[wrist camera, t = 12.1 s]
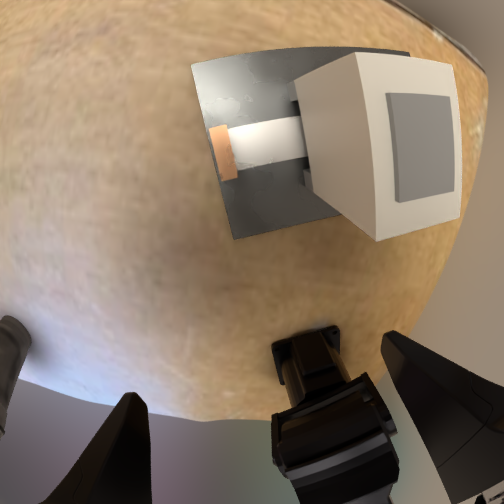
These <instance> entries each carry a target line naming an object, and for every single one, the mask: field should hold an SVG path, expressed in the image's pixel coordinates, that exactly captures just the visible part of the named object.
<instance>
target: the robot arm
mask: <svg viewBox="0 0 504 504" xmlns="http://www.w3.org/2000/svg"><path fill="white" fill-rule="evenodd" d="M333 331H334V332H333ZM277 347H278V348H277ZM271 349H272V353H273V357H274V361H275V365H276V369H277V373H278V377H279V381H280V384H281V385H285V386H286V389H287V393H288V396H289V400H290V404H291V407H292V408H291V409H288V410H286V411H283V412H280V413H275V414H272V423H271V439H272V457H273V464H274V465H275V466H277V467H278V469H279V471H280V472H281V473H282V475H283V476H284V477H285V478H287V479H290V481H291V483H292V485H293V487H294V489H295V492H296V494H297V496H298V499H299V502H300V504H394V503H393V501H392V498H391V496H390V492H391V489H392V486H393V484H394V483H396V482H397V481H398V475H399V466H398V465H399V458H398V456H397V454H396V451H395V449H394V447H393V444H392V442H391V439H390V437H392V436H394V435H396V434H397V433H398V432H397V429H396V426H395V424H394V421H393V419H392V416H391V414H390V412H389V410H388V408H387V406H386V404H385V403H384V401H383V399H382V397H381V396H380V394H379V392H378V391H377V389H376V387H375V386H374V384H373V382H372V381H371V379H370V377H369V376H368V374H367V372H364V373H363V374H361V376H359V377H357V378H355V379H354V380H351V378H350V376H349V374H348V372H347V370H346V368H345V366H344V364H343V362H342V360H341V358H340V330H339V328H338V327H337V326H332V327H329V328H326V329H323V330H319V331H316V332H312V333H309V334H306V335H302V336H299V337H295V338H291V339H288V340H284V341H280V342H276V343H274V344H272V346H271ZM381 354H382V356H383V359H384V361H385V364H386V366H387V368H388V371H389V373H390V376H391V378H392V381H393V383H394V385H395V388H396V390H397V392H398V394H399V395H400V397H401V399H402V401H403V403H404V405H405V407H406V408H407V410H408V412H409V414H410V416H411V418H412V420H413V422H414V424H415V426H416V428H417V430H418V432H419V434H420V436H421V438H422V440H423V442H424V444H425V446H426V448H427V450H428V452H429V454H430V456H431V458H432V461H433V463H434V465H435V467H436V468H437V471H438V474H439V476H440V478H441V480H442V483H443V485H444V487H445V490H446V492H447V494H448V497H449V499H450V501H451V504H457V503H460V502H462V501H465V500H466V499H469V498H471V497H473V496H475V495H477V494H479V493H481V494H480V495H479V496H478V497H477V499H476V501H475V504H504V387H502V386H500V385H497V384H495V383H493V382H490V381H488V380H486V379H484V378H482V377H480V376H478V375H476V374H474V373H472V372H471V371H468V370H467V369H465V368H463V367H461V366H459V365H458V364H456V363H454V362H452V361H450V360H448V359H446V358H444V357H443V356H441V355H439V354H437V353H435V352H434V351H432V350H430V349H428V348H426V347H424V346H423V345H421V344H419V343H417V342H415V341H413V340H411V339H410V338H408V337H406V336H404V335H402V334H400V333H399V332H397V331H394V330H392V331H389V332H387V333H384V335H383V337H382V343H381ZM39 504H152V491H151V443H150V432H149V420H148V408H147V405H146V403H145V402H144V401H143V400H142V399H141V397H140V396H139V395H138V394H137V393H136V392H127V393H125V394H124V395H123V396H122V398H121V399H120V401H119V402H118V403H117V405H116V406H115V408H114V409H113V411H112V412H111V413H110V415H109V416H108V417H107V419H106V420H105V422H104V423H103V424H102V426H101V427H100V429H99V430H98V431H97V433H96V434H95V436H94V437H93V438H92V440H91V441H90V443H89V444H88V446H87V447H86V448H85V450H84V451H83V453H82V454H81V456H80V457H79V459H78V460H77V462H76V463H75V464H74V466H73V467H72V468H71V470H70V471H69V473H68V474H67V475H66V476H65V478H64V479H63V480H62V481H61V483H60V484H59V485H58V486H57V487H56V489H54V491H53V492H52V493H51V494H50V495H49V496H48V497H47V498H46V500H44V501H43V502H41V503H39Z"/></svg>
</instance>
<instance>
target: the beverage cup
mask: <svg viewBox="0 0 504 504" xmlns="http://www.w3.org/2000/svg"><path fill="white" fill-rule="evenodd" d="M30 345H31V337H30V335H29V333H28V331H27V330H26V328H25V327H24V326H23V325H22V324H21V323H20V322H19V321H18V320H16V319H15V318H13V317H11V316H4V317H3V318H2V319H1V320H0V439H1V437H2V436H3V435H4V434H5V431H4V428H5V424H6V417H7V408H8V405H9V402H10V399H11V396H12V393H13V390H14V387H15V384H16V381H17V379H18V376H19V373H20V371H21V368H22V366H23V363H24V361H25V358H26V356H27V352H28V349H29V347H30Z"/></svg>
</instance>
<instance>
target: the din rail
mask: <svg viewBox="0 0 504 504" xmlns="http://www.w3.org/2000/svg"><path fill="white" fill-rule="evenodd" d="M354 52H366V53H380V54H391V55H400V56H407V57H410V54H409V52H403V51H396V50H387V49H376V48H362V47H302V48H287V49H276V50H267V51H259V52H252V53H245V54H239V55H233V56H228V57H223V58H218V59H213V60H209V61H204V62H200V63H196V64H192V65H191V68H192V72H193V77H194V81H195V85H196V89H197V94H198V98H199V102H200V106H201V111H202V115H203V119H204V123H205V127H206V131H207V136H208V140H209V144H210V148H211V152H212V156H213V160H214V164H215V168H216V172H217V176H218V180H219V184H220V188H221V192H222V196H223V200H224V204H225V208H226V212H227V216H228V220H229V224H230V227H231V231H232V235H233V239H234V240H236V239H240V238H244V237H248V236H252V235H256V234H260V233H265V232H269V231H273V230H277V229H281V228H285V227H289V226H294V225H298V224H302V223H306V222H311V221H315V220H319V219H323V218H328V217H332V216H336V215H341V213H340V212H338V211H337V210H336V209H335V208H333V207H332V206H331V205H329V204H328V203H327V202H325V201H324V200H323V199H321V198H320V197H319V196H317V195H316V194H315V193H313V192H312V191H311V190H309V189H308V188H306V186H305V179H304V173H303V170H304V169H310V164H309V157H308V151H307V145H306V139H305V134H304V128H303V123H302V117H301V112H300V107H299V102H298V101H290V96H289V92H288V87H287V84H288V83H289V82H291V81H293V80H295V79H297V78H299V77H301V76H303V75H305V74H307V73H309V72H311V71H313V70H315V69H317V68H319V67H322V66H324V65H326V64H328V63H330V62H333V61H335V60H337V59H339V58H342V57H344V56H346V55H349V54H351V53H354Z"/></svg>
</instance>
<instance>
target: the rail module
mask: <svg viewBox="0 0 504 504" xmlns="http://www.w3.org/2000/svg"><path fill="white" fill-rule="evenodd" d="M287 87H288V92H289V96H290V101H298V102H299V107H300V112H301V117H302V123H303V128H304V134H305V139H306V145H307V151H308V157H309V164H310V169H304V170H303V173H304V179H305V186H306V188H308V189H309V190H311V191H312V192H313V193H315V194H316V195H317V196H319V197H320V198H321V199H323V200H324V201H325V202H327V203H328V204H329V205H331V206H332V207H333V208H335V209H336V210H337V211H338V212H340V213H341V214H342V215H344V216H345V217H346V218H347V219H349V220H350V221H351V222H353V223H354V224H355V225H356V226H358V227H359V228H360V229H361V230H362V231H364V232H365V233H366V234H367V235H369V236H370V237H371V238H372V239H373V240H375V241H376V242H377V241H381V240H384V239H388V238H392V237H395V236H399V235H402V234H406V233H409V232H413V231H416V230H420V229H423V228H427V227H430V226H433V225H437V224H440V223H444V222H447V221H450V220H454V219H457V218H460V206H461V190H462V141H461V125H460V114H459V105H458V97H457V90H456V84H455V78H454V73H453V68H452V65H451V64H446V63H442V62H437V61H432V60H426V59H420V58H414V57H407V56H400V55H391V54H380V53H366V52H354V53H351V54H349V55H346V56H344V57H342V58H339V59H337V60H335V61H333V62H330V63H328V64H326V65H324V66H322V67H319V68H317V69H315V70H313V71H311V72H309V73H307V74H305V75H303V76H301V77H299V78H297V79H295V80H293V81H291V82H289V83H288V84H287Z"/></svg>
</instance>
